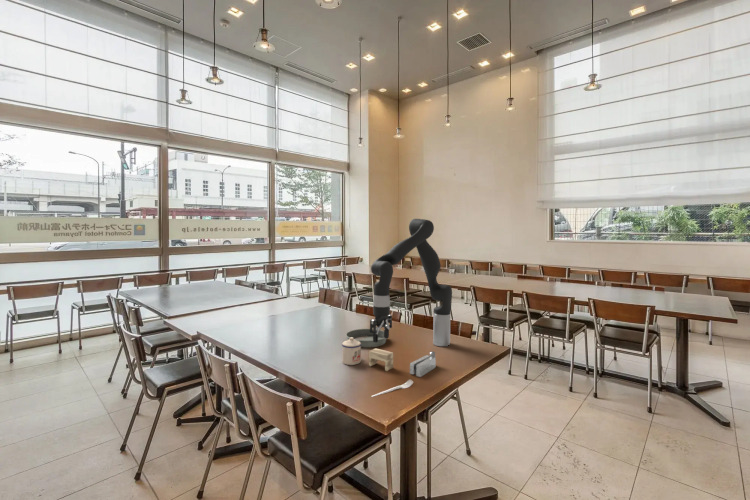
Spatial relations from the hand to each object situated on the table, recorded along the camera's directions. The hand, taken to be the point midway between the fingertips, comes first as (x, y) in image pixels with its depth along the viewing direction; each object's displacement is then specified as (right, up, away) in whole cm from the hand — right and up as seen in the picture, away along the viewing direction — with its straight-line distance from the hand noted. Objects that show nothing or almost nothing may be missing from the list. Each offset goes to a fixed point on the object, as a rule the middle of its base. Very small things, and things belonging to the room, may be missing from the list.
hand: (381, 340), depth 164 cm
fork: (+4, -14, -24) cm, 28 cm away
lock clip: (0, -13, +1) cm, 13 cm away
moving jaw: (+19, -12, -2) cm, 23 cm away
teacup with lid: (-13, -12, +8) cm, 20 cm away
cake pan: (-7, -11, +40) cm, 42 cm away
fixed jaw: (+20, -13, -5) cm, 24 cm away
